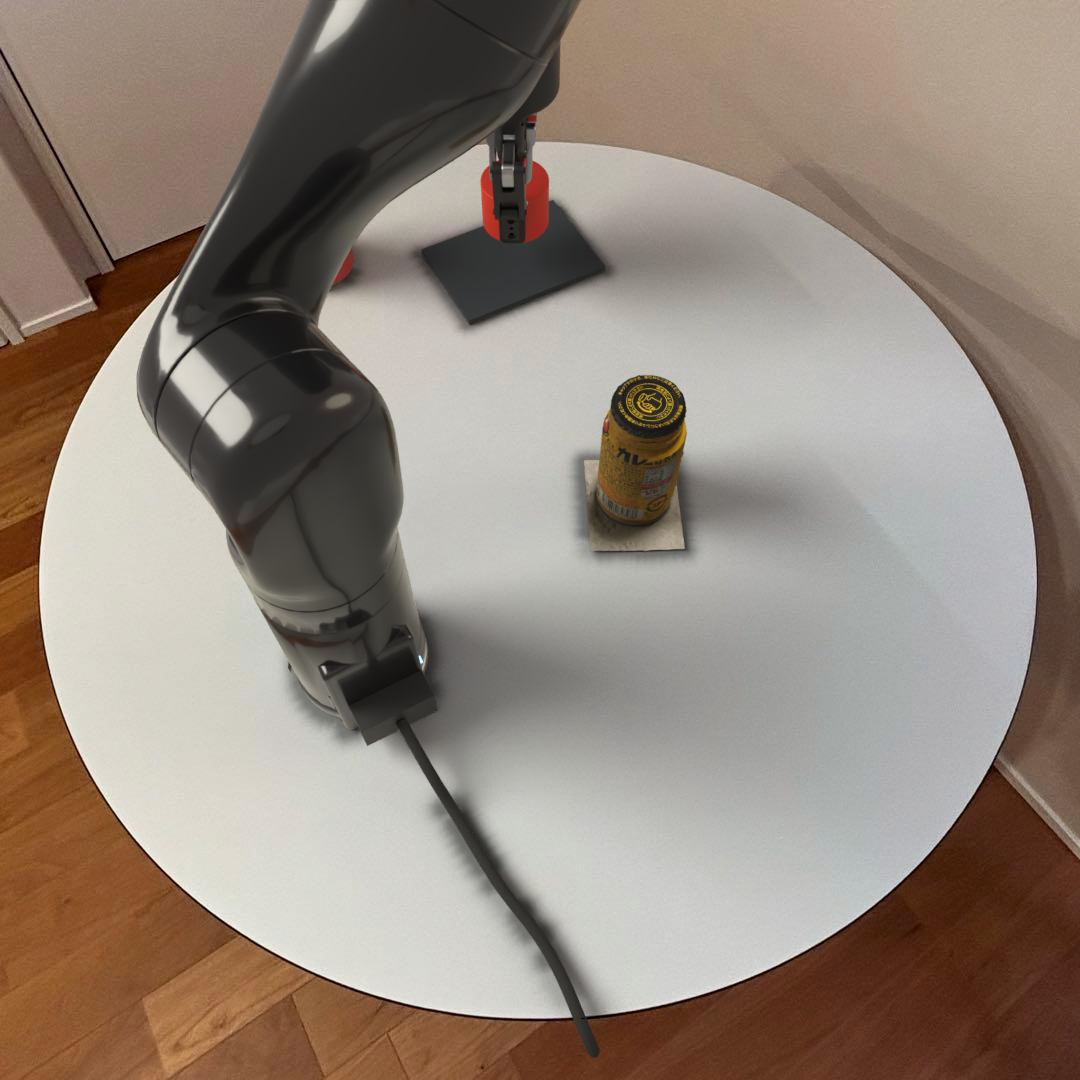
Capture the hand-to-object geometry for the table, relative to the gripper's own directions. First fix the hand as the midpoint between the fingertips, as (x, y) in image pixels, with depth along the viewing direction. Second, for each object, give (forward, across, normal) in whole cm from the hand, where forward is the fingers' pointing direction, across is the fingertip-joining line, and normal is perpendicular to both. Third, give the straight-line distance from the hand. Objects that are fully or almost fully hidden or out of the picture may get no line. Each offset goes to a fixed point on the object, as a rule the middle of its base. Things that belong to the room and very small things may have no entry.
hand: (514, 213), depth 86 cm
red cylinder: (+1, 0, 0) cm, 1 cm away
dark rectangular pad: (+6, 0, 0) cm, 6 cm away
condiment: (+6, -26, -10) cm, 29 cm away
